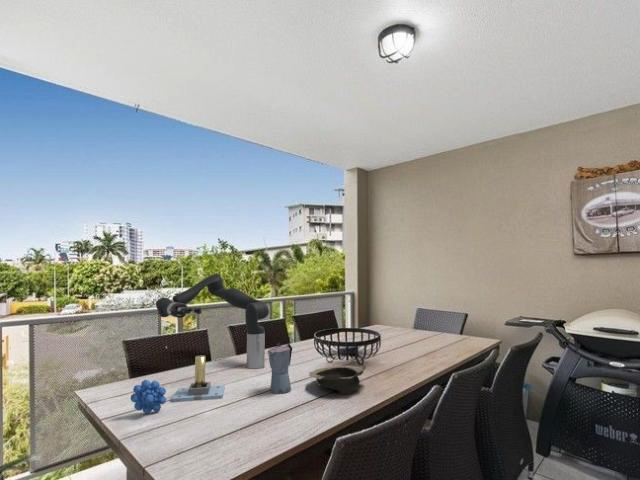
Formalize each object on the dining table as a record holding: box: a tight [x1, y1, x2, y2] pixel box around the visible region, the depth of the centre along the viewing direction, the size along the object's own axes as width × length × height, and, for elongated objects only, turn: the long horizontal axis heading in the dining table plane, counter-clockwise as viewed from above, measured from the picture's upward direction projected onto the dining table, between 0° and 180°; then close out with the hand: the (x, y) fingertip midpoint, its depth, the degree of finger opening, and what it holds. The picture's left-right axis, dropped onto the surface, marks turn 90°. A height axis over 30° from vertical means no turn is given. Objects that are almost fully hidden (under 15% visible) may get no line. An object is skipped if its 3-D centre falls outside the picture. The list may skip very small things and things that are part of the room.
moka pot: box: [267, 341, 293, 395], centre depth 150 cm, size 10×15×20 cm, turn 152°
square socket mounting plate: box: [171, 381, 226, 403], centre depth 144 cm, size 19×12×4 cm, turn 101°
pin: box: [194, 354, 207, 388], centre depth 144 cm, size 4×4×14 cm
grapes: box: [130, 379, 167, 415], centre depth 124 cm, size 12×7×12 cm, turn 120°
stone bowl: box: [308, 365, 367, 396], centre depth 152 cm, size 25×25×9 cm
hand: (192, 312), depth 171 cm, fingers open, 8 cm apart
